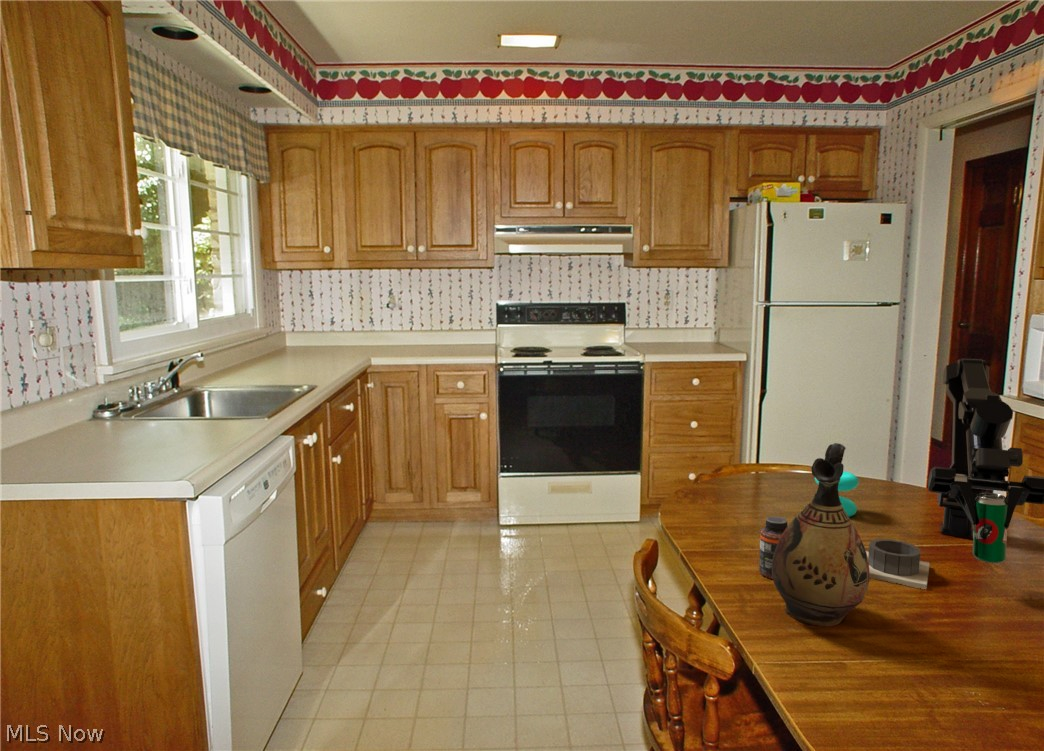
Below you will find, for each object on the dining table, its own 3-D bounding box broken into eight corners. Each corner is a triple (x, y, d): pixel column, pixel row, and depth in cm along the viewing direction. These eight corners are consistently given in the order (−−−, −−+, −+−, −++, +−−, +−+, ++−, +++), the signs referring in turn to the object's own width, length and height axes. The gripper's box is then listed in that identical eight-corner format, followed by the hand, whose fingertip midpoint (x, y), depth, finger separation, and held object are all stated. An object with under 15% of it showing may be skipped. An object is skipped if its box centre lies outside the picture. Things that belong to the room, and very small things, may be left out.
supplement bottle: (790, 570, 135) (792, 516, 133) (791, 582, 129) (794, 526, 128) (758, 566, 137) (760, 513, 135) (758, 578, 131) (761, 522, 130)
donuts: (811, 475, 166) (818, 466, 174) (809, 514, 167) (816, 503, 176) (856, 481, 161) (861, 471, 169) (853, 521, 162) (858, 510, 170)
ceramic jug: (861, 646, 106) (874, 463, 102) (761, 621, 114) (768, 450, 110) (871, 603, 121) (882, 440, 117) (781, 583, 129) (788, 431, 125)
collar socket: (863, 554, 142) (864, 532, 142) (929, 567, 136) (931, 543, 135) (855, 575, 132) (857, 550, 132) (926, 589, 126) (928, 564, 125)
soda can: (1010, 565, 121) (1013, 500, 119) (979, 563, 122) (981, 499, 121) (998, 554, 126) (1000, 492, 124) (968, 553, 127) (970, 491, 126)
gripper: (934, 425, 128) (936, 498, 120) (1055, 434, 120) (1066, 513, 112) (927, 455, 136) (928, 525, 128) (1040, 466, 128) (1049, 541, 120)
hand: (990, 526), depth 122 cm, fingers closed on soda can, 5 cm apart
